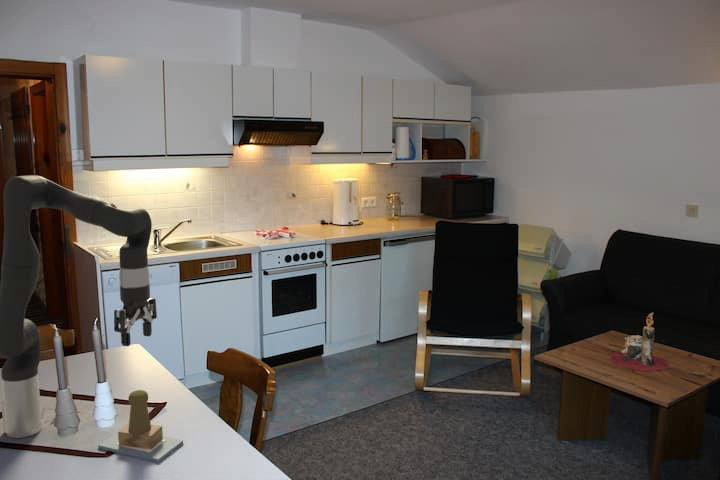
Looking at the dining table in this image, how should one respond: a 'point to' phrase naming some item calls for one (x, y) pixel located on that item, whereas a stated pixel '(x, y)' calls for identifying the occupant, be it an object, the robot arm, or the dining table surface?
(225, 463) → the dining table surface
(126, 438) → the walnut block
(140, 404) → the olive pawn
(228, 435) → the dining table surface
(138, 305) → the robot arm
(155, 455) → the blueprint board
